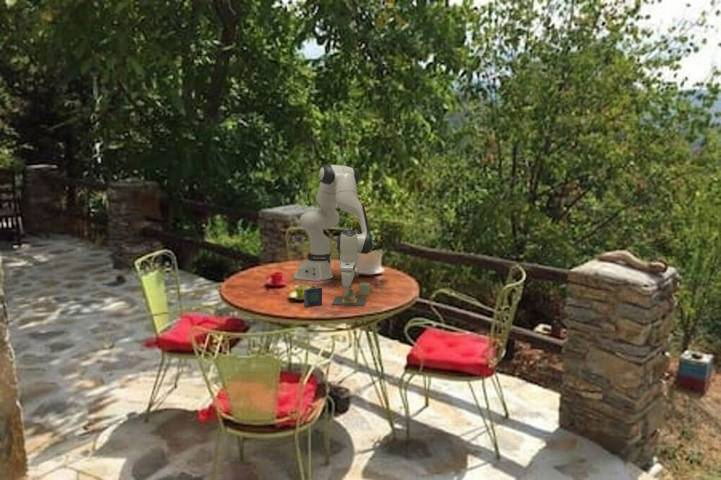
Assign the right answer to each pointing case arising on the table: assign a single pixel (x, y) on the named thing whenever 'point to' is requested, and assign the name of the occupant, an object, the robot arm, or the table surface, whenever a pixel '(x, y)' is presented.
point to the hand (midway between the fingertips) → (348, 290)
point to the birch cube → (349, 296)
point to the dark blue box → (313, 296)
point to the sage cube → (364, 288)
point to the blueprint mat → (358, 302)
